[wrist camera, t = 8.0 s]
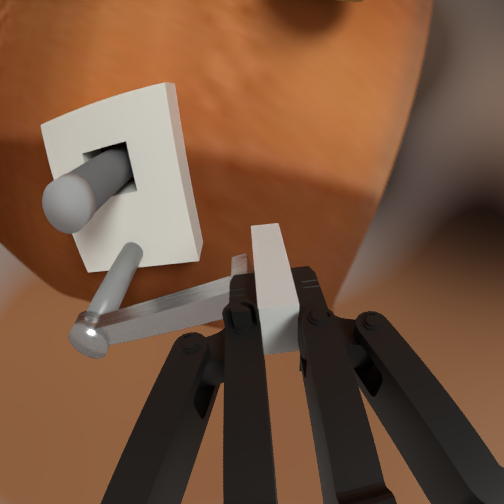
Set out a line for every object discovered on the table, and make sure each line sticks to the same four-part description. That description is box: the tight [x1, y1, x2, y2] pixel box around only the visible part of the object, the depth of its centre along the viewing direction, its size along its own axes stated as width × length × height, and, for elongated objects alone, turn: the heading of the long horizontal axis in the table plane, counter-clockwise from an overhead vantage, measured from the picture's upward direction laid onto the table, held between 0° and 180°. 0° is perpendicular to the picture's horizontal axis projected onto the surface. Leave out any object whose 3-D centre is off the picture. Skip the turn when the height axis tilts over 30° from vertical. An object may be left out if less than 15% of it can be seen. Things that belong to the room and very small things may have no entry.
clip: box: [69, 253, 255, 359], centre depth 19 cm, size 15×3×4 cm, turn 110°
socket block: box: [41, 83, 203, 315], centre depth 22 cm, size 18×14×15 cm
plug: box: [42, 143, 134, 234], centre depth 22 cm, size 4×4×12 cm
